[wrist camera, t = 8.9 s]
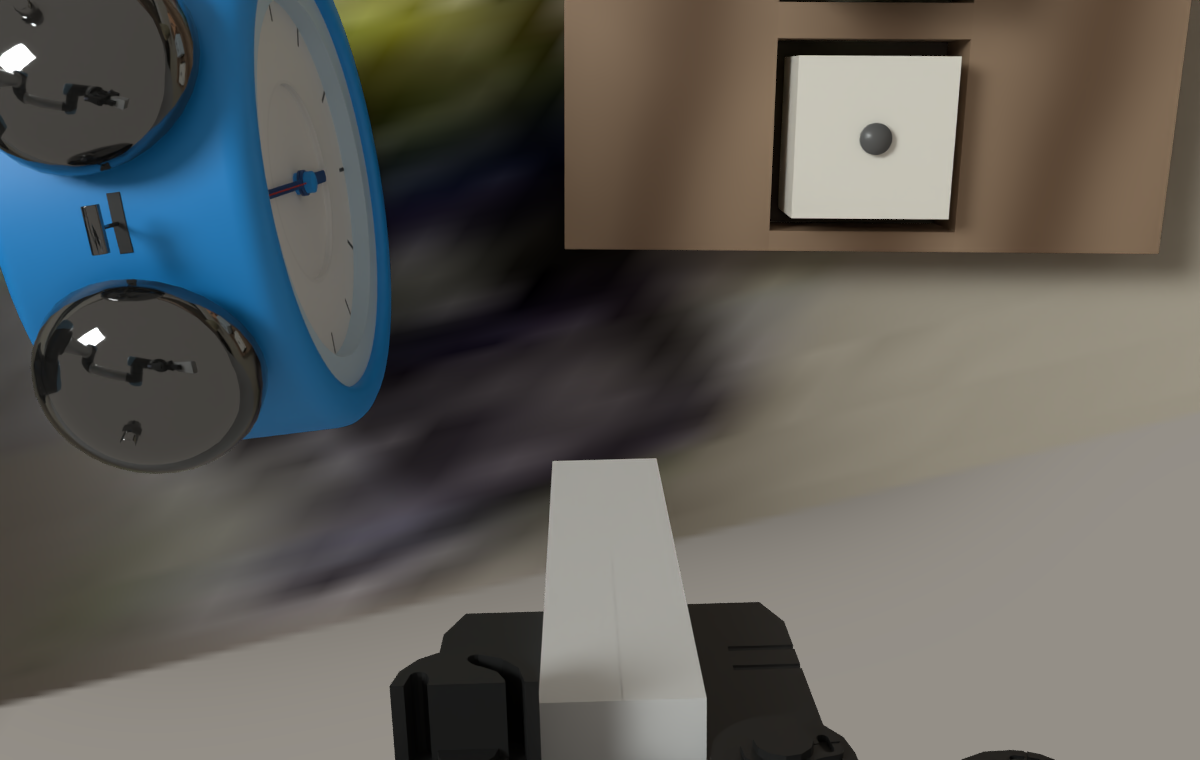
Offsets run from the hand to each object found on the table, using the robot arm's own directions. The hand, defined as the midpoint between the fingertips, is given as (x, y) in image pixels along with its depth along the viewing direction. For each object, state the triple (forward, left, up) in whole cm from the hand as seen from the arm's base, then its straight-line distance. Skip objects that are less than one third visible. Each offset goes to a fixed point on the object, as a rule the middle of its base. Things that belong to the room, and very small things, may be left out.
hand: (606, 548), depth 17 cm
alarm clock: (-10, +4, -22) cm, 25 cm away
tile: (+8, +5, -21) cm, 23 cm away
